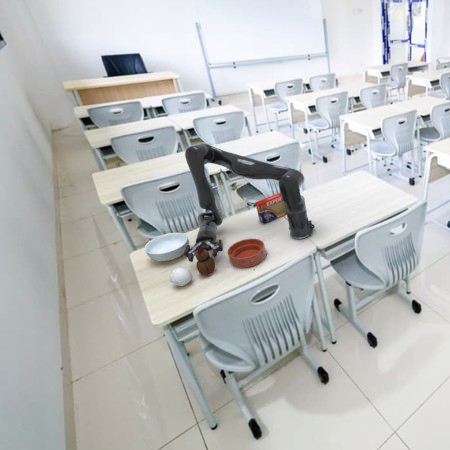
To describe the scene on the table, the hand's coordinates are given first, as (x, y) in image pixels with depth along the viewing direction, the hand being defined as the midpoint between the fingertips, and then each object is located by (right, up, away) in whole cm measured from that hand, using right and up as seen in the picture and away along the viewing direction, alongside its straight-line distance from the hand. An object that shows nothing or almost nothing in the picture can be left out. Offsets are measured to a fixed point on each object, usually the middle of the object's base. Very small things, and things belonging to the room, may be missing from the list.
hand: (202, 258), depth 143 cm
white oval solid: (-8, -11, -1) cm, 14 cm away
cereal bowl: (-23, 0, +16) cm, 28 cm away
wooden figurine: (0, -7, +6) cm, 9 cm away
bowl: (+13, -1, +14) cm, 19 cm away
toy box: (+15, +18, +45) cm, 51 cm away
